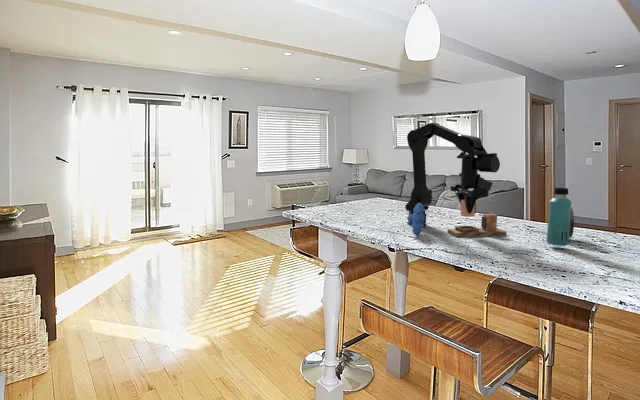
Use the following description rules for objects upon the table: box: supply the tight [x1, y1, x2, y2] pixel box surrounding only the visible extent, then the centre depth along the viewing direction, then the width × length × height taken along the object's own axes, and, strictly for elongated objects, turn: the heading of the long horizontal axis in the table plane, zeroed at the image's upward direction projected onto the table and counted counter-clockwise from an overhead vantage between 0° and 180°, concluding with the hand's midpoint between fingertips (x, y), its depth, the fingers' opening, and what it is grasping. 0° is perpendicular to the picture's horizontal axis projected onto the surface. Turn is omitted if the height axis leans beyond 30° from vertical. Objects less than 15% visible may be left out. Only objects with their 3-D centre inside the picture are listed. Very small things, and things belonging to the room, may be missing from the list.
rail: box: [447, 213, 508, 238], centre depth 157 cm, size 20×7×8 cm, turn 97°
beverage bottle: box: [546, 187, 572, 247], centre depth 135 cm, size 6×7×20 cm
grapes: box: [406, 203, 426, 236], centre depth 157 cm, size 12×7×12 cm, turn 155°
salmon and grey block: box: [460, 200, 477, 218], centre depth 156 cm, size 5×3×6 cm, turn 97°
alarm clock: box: [563, 195, 575, 238], centre depth 148 cm, size 11×5×16 cm, turn 158°
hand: (467, 212), depth 156 cm, fingers closed on salmon and grey block, 3 cm apart
